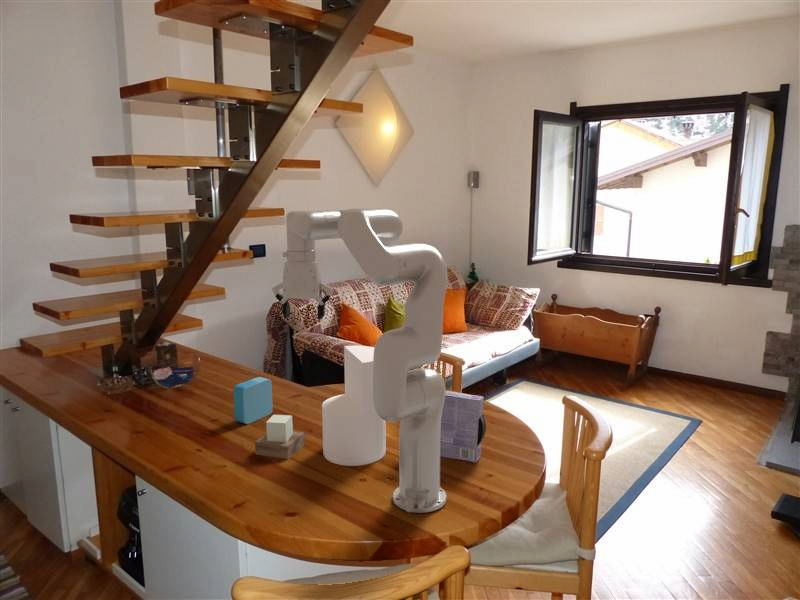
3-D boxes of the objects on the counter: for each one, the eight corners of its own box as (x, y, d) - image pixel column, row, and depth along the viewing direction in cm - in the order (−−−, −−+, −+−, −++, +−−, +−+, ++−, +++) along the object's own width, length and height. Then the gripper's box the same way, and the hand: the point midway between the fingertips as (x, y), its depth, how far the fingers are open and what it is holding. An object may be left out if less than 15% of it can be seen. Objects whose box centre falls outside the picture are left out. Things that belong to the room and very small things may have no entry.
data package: (263, 410, 198) (261, 375, 196) (273, 413, 196) (271, 378, 194) (234, 422, 189) (232, 385, 186) (244, 425, 186) (242, 388, 184)
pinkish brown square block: (288, 460, 164) (287, 446, 163) (255, 455, 167) (254, 442, 166) (305, 445, 173) (304, 432, 172) (273, 441, 176) (273, 428, 175)
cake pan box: (485, 456, 165) (487, 394, 161) (480, 464, 160) (482, 400, 157) (419, 445, 172) (419, 385, 169) (413, 452, 167) (413, 391, 164)
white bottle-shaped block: (374, 434, 179) (373, 343, 174) (394, 459, 163) (394, 359, 158) (316, 443, 173) (313, 349, 168) (332, 470, 157) (329, 366, 152)
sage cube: (286, 442, 166) (285, 423, 165) (267, 441, 167) (266, 422, 166) (293, 433, 171) (292, 415, 170) (274, 432, 172) (273, 414, 171)
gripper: (266, 257, 163) (269, 320, 166) (328, 258, 160) (330, 322, 163) (276, 254, 170) (278, 314, 173) (336, 255, 167) (337, 316, 171)
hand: (303, 317), depth 168 cm, fingers open, 9 cm apart
